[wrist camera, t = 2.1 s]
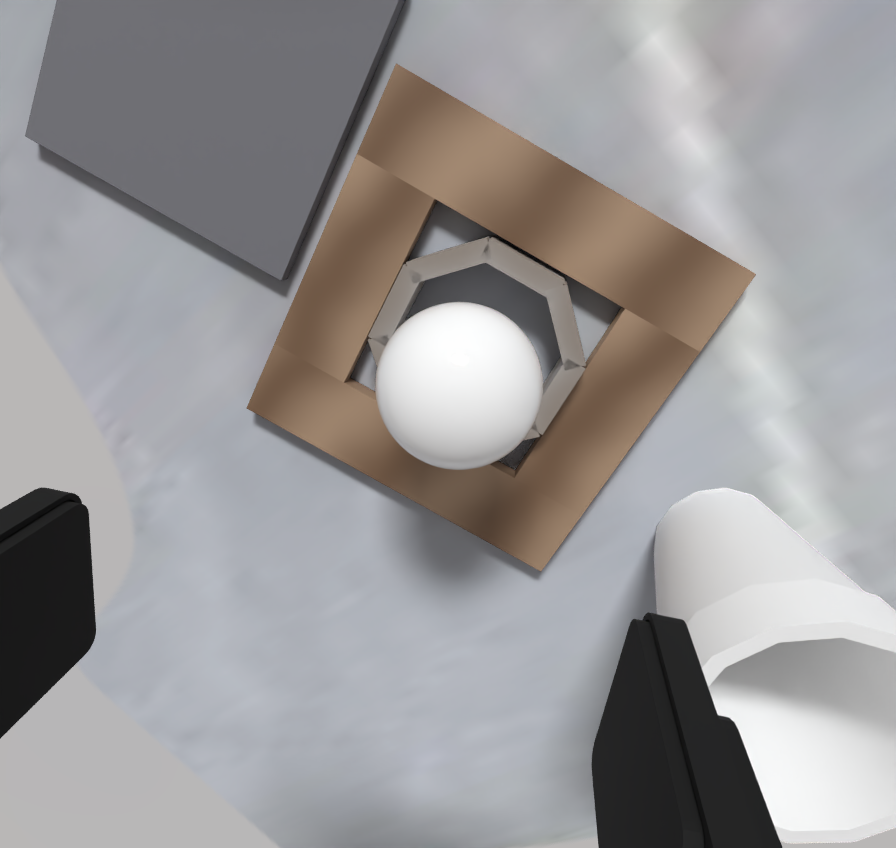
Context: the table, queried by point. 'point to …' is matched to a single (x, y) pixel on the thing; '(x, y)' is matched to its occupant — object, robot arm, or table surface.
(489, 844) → the table surface
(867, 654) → the foam cup
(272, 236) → the rubber mat
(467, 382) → the lightbulb
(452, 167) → the socket plate
